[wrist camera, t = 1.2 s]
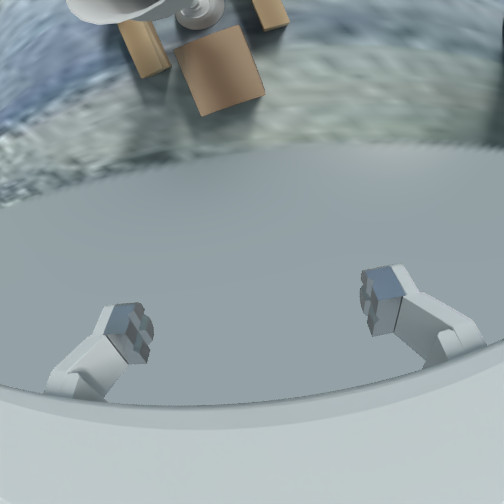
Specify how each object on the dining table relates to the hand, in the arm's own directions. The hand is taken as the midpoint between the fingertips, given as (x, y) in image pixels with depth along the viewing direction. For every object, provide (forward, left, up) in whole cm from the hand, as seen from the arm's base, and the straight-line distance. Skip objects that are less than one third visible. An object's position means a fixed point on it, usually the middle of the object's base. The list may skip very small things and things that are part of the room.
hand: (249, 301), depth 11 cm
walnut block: (+1, -7, -25) cm, 26 cm away
